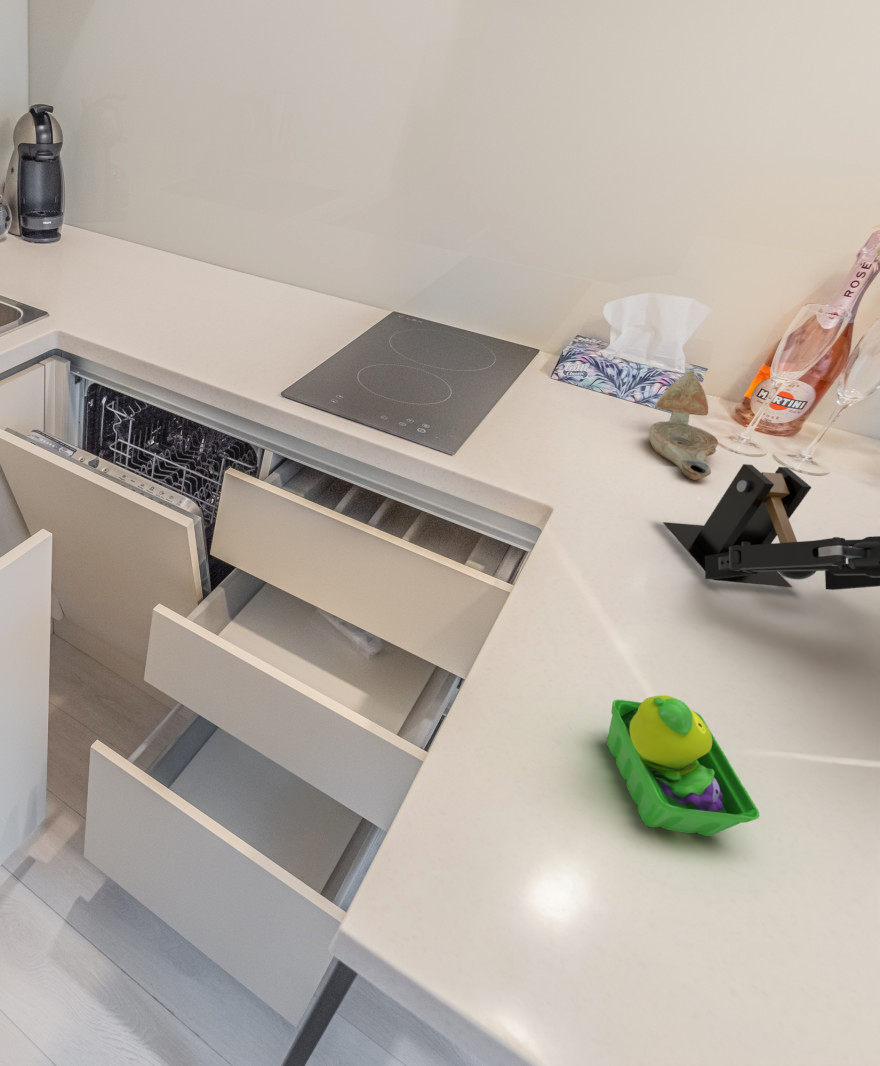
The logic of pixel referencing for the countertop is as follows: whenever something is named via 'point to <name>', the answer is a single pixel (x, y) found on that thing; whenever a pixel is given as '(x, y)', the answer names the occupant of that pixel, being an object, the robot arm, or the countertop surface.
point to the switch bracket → (741, 521)
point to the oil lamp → (684, 428)
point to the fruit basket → (676, 768)
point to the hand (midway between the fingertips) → (767, 572)
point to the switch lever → (782, 518)
